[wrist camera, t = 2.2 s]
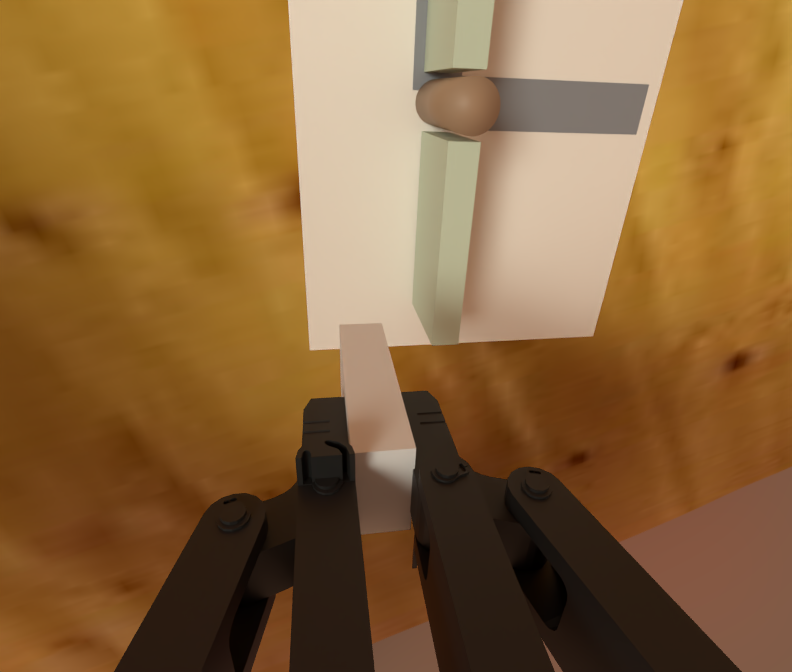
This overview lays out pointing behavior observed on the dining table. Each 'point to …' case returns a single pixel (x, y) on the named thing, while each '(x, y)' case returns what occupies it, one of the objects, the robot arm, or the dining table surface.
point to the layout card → (498, 162)
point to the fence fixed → (458, 67)
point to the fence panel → (443, 231)
